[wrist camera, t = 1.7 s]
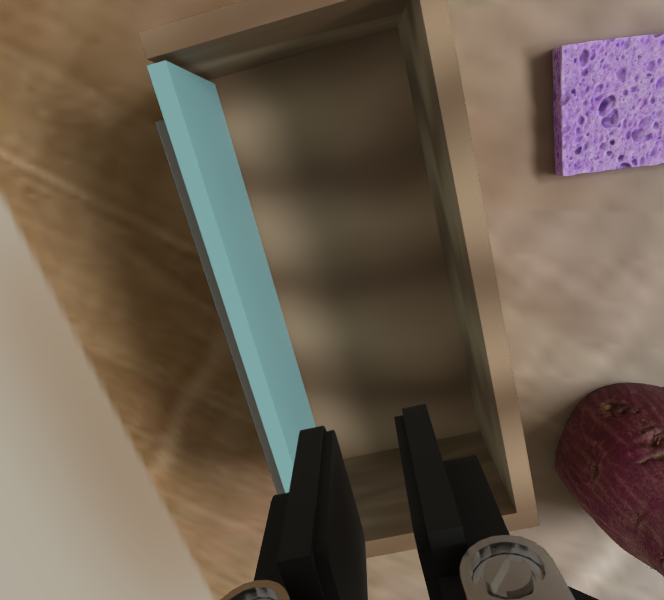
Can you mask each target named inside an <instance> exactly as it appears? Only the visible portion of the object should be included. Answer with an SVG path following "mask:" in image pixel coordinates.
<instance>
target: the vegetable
mask: <svg viewBox="0 0 664 600" xmlns="http://www.w3.org/2000/svg"><path fill="white" fill-rule="evenodd" d="M555 470H556V471H558V472H559V475H560V477H561V479H562V480H563V482H564V484H565V485H566V487H567V488H568V490H569V491H570V493H571V494H572V495H573V497H574V498H575V499H576V500H577V501H578V502H579V504H580V505H581V506H582V507H583V509H584V510H585V511H586V512H587V513H588V514H589V515H590V516H591V517H592V518H593V519H594V520H595V521H596V523H597V524H598V525H599V526H600V528H602V529H603V530H604V531H605V533H606V534H607V535H608V536H609V537H610V538H611V539H612V540H613V541H615V542H616V543H617V544H618V545H619V546H620V547H621V548H623V549H624V550H625V551H626V552H628V553H629V554H631V555H633V556H634V557H636V558H637V559H639V560H640V561H642V562H644V563H645V564H647V565H648V566H650V567H652V568H653V569H655V570H657V571H658V572H659V573H660V574H661V575H663V576H664V387H658V386H653V385H647V384H640V383H626V382H623V383H619V384H614V385H610V386H606V387H603V388H601V389H598V390H596V391H594V392H592V393H591V394H589V395H588V396H587V397H586V398H584V399H583V400H582V402H581V403H580V404H578V406H577V407H576V409H575V410H574V411H573V413H572V415H571V416H570V418H569V420H568V422H567V425H566V427H565V429H564V432H563V434H562V437H561V440H560V442H559V445H558V448H557V452H556V468H555Z"/></svg>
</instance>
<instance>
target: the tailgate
mask: <svg viewBox="0 0 664 600" xmlns="http://www.w3.org/2000/svg"><path fill="white" fill-rule="evenodd" d="M147 68H148V71H149V74H150V78H151V81H152V84H153V87H154V90H155V93H156V96H157V99H158V102H159V105H160V108H161V111H162V115H163V118H164V119H163V120H159V121H156V122H155V124H156V127H157V130H158V133H159V136H160V139H161V142H162V145H163V148H164V151H165V154H166V157H167V160H168V163H169V166H170V169H171V172H172V175H173V178H174V181H175V185H176V188H177V191H178V194H179V197H180V200H181V203H182V206H183V209H184V212H185V215H186V218H187V221H188V224H189V227H190V230H191V233H192V236H193V239H194V242H195V245H196V248H197V251H198V254H199V257H200V260H201V263H202V267H203V270H204V273H205V276H206V279H207V282H208V285H209V288H210V291H211V294H212V297H213V300H214V303H215V306H216V309H217V312H218V315H219V318H220V321H221V324H222V327H223V330H224V333H225V336H226V339H227V342H228V345H229V348H230V352H231V355H232V358H233V361H234V364H235V367H236V370H237V373H238V376H239V379H240V382H241V385H242V388H243V391H244V394H245V397H246V400H247V403H248V406H249V409H250V412H251V415H252V418H253V421H254V424H255V427H256V430H257V433H258V437H259V440H260V443H261V446H262V449H263V452H264V455H265V458H266V461H267V464H268V467H269V470H270V473H271V476H272V479H273V482H274V485H275V488H276V491H277V494H283V493H288V492H289V489H290V483H291V477H292V471H293V466H294V460H295V454H296V449H297V443H298V437H299V432H300V430H304V429H309V428H314V427H316V425H315V422H314V418H313V415H312V412H311V408H310V405H309V401H308V398H307V395H306V391H305V388H304V384H303V381H302V378H301V374H300V371H299V367H298V364H297V361H296V357H295V354H294V350H293V347H292V344H291V340H290V337H289V333H288V330H287V327H286V323H285V320H284V317H283V313H282V310H281V306H280V303H279V300H278V296H277V293H276V289H275V286H274V283H273V279H272V276H271V272H270V269H269V266H268V262H267V259H266V255H265V252H264V249H263V245H262V242H261V238H260V235H259V232H258V228H257V225H256V222H255V218H254V215H253V211H252V208H251V205H250V201H249V198H248V194H247V191H246V188H245V184H244V181H243V177H242V174H241V171H240V167H239V164H238V160H237V157H236V154H235V150H234V147H233V143H232V140H231V137H230V133H229V130H228V126H227V123H226V120H225V116H224V113H223V110H222V106H221V103H220V99H219V96H218V93H217V89H216V86H215V84H214V83H212V82H210V81H208V80H206V79H204V78H201V77H199V76H197V75H195V74H193V73H191V72H189V71H187V70H185V69H183V68H181V67H179V66H176V65H174V64H172V63H170V62H168V61H166V60H165V61H161V62H158V63H154V64H151V65H148V66H147Z"/></svg>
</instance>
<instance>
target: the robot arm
mask: <svg viewBox="0 0 664 600" xmlns="http://www.w3.org/2000/svg"><path fill="white" fill-rule="evenodd" d="M402 411H403V415H401V416H396V417H394V420H395V426H396V432H397V438H398V444H399V450H400V456H401V462H402V468H403V474H404V480H405V486H406V492H407V498H408V503H409V509H410V515H411V521H412V527H413V532H414V537H415V542H416V546H417V550H418V554H419V558H420V562H421V566H422V570H423V574H424V578H425V582H426V586H427V590H428V593H429V597H430V600H598V599H596V598H594V597H591V596H589V595H587V594H584V593H582V592H580V591H578V590H575V589H573V588H571V587H569V586H567V584H566V582H565V580H564V579H563V577H562V575H561V573H560V572H559V570H558V568H557V566H556V564H555V563H554V561H553V559H552V558H551V557H550V555H549V554H548V553H547V552H546V550H545V549H544V548H542V547H541V546H539V545H538V544H536V543H535V542H533V541H531V540H528V539H525V538H523V537H519V536H511V535H510V534H509V532H508V530H507V527H506V525H505V522H504V520H503V518H502V515H501V513H500V510H499V508H498V506H497V503H496V501H495V498H494V496H493V494H492V491H491V489H490V486H489V484H488V482H487V479H486V477H485V474H484V472H483V470H482V467H481V465H480V462H479V460H478V458H477V456H476V455H470V456H465V457H460V458H455V459H450V460H445V461H443V460H442V457H441V453H440V450H439V447H438V443H437V440H436V437H435V433H434V430H433V427H432V423H431V420H430V417H429V413H428V410H427V407H426V404H421V405H417V406H412V407H407V408H403V409H402ZM221 600H368V595H367V571H366V546H365V537H364V532H363V527H362V524H361V520H360V517H359V513H358V510H357V506H356V503H355V499H354V496H353V492H352V489H351V485H350V482H349V478H348V474H347V471H346V467H345V464H344V460H343V457H342V453H341V450H340V446H339V443H338V439H337V436H336V433H335V431H334V430H330V431H326V428H325V426H324V425H323V426H318V427H314V428H309V429H304V430H300V432H299V437H298V443H297V449H296V454H295V460H294V466H293V471H292V477H291V483H290V489H289V492H288V493H283V494H278V495H275V496H273V498H272V501H271V505H270V510H269V514H268V519H267V523H266V528H265V532H264V537H263V541H262V546H261V551H260V555H259V560H258V564H257V569H256V573H255V578H254V581H252V582H249V583H245V584H243V585H241V586H239V587H237V588H235V589H233V590H232V591H230V592H229V593H228V594H227V595H225V596H224V597H223V598H222V599H221Z"/></svg>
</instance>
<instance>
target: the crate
mask: <svg viewBox="0 0 664 600" xmlns="http://www.w3.org/2000/svg"><path fill="white" fill-rule="evenodd" d="M138 33H139V36H140V39H141V42H142V45H143V49H144V52H145V55H146V58H147V59H148V60H150V61H152V62H155V63H158V62H161V61H165V60H166V61H168V62H170V63H172V64H174V65H176V66H179V67H181V68H183V69H185V70H187V71H189V72H191V73H193V74H195V75H197V76H199V77H201V78H204V79H206V80H208V81H210V82H212V83H214V84H215V86H216V89H217V93H218V96H219V99H220V103H221V106H222V110H223V113H224V116H225V120H226V123H227V126H228V130H229V133H230V137H231V140H232V143H233V147H234V150H235V154H236V157H237V160H238V164H239V167H240V171H241V174H242V177H243V181H244V184H245V188H246V191H247V194H248V198H249V201H250V205H251V208H252V211H253V215H254V218H255V222H256V225H257V228H258V232H259V235H260V238H261V242H262V245H263V249H264V252H265V255H266V259H267V262H268V266H269V269H270V272H271V276H272V279H273V283H274V286H275V289H276V293H277V296H278V300H279V303H280V306H281V310H282V313H283V317H284V320H285V323H286V327H287V330H288V333H289V337H290V340H291V344H292V347H293V350H294V354H295V357H296V361H297V364H298V367H299V371H300V374H301V378H302V381H303V384H304V388H305V391H306V395H307V398H308V401H309V405H310V408H311V412H312V415H313V418H314V422H315V425H316V427H318V426H323V425H324V426H325V428H326V431H330V430H334V431H335V433H336V436H337V439H338V443H339V446H340V450H341V453H342V457H343V460H344V464H345V467H346V471H347V474H348V478H349V482H350V485H351V489H352V492H353V496H354V499H355V503H356V506H357V510H358V513H359V517H360V520H361V524H362V527H363V532H364V537H365V546H366V558H369V557H374V556H380V555H385V554H390V553H396V552H401V551H406V550H412V549H417V546H416V542H415V537H414V532H413V527H412V521H411V515H410V509H409V503H408V498H407V492H406V486H405V480H404V474H403V468H402V462H401V456H400V450H399V444H398V438H397V432H396V426H395V420H394V417H396V416H401V415H403V411H402V409H403V408H407V407H412V406H417V405H421V404H426V407H427V410H428V413H429V417H430V420H431V423H432V427H433V430H434V433H435V437H436V440H437V443H438V447H439V450H440V453H441V457H442V460H443V461H445V460H450V459H455V458H460V457H465V456H470V455H476V456H477V458H478V460H479V462H480V465H481V467H482V470H483V472H484V474H485V477H486V479H487V482H488V484H489V486H490V489H491V491H492V494H493V496H494V498H495V501H496V503H497V506H498V508H499V510H500V513H501V515H502V518H503V520H504V522H505V525H506V527H507V530H508V531H513V530H519V529H524V528H529V527H535V526H540V523H539V518H538V512H537V506H536V501H535V495H534V490H533V484H532V478H531V473H530V467H529V461H528V456H527V450H526V444H525V439H524V433H523V427H522V422H521V416H520V410H519V405H518V399H517V393H516V388H515V382H514V376H513V371H512V365H511V359H510V354H509V348H508V342H507V337H506V331H505V325H504V320H503V314H502V308H501V303H500V297H499V291H498V286H497V280H496V275H495V269H494V263H493V258H492V252H491V246H490V241H489V235H488V229H487V224H486V218H485V212H484V207H483V201H482V195H481V190H480V184H479V178H478V173H477V167H476V161H475V156H474V150H473V144H472V139H471V133H470V127H469V122H468V116H467V110H466V105H465V99H464V93H463V88H462V82H461V77H460V71H459V65H458V60H457V54H456V48H455V43H454V37H453V31H452V26H451V20H450V14H449V9H448V3H447V0H245V1H242V2H238V3H235V4H232V5H228V6H225V7H222V8H218V9H215V10H212V11H208V12H205V13H202V14H198V15H195V16H192V17H188V18H185V19H182V20H178V21H175V22H172V23H168V24H165V25H162V26H158V27H155V28H152V29H148V30H145V31H142V32H138Z"/></svg>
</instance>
